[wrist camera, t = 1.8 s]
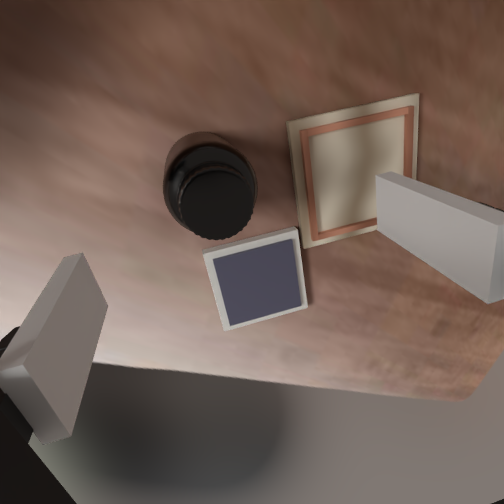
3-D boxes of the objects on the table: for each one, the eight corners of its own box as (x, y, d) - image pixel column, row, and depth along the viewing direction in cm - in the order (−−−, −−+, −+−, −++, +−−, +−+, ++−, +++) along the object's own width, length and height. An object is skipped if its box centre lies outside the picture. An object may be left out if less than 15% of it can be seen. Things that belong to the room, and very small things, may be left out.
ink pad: (222, 326, 40) (224, 333, 39) (201, 249, 36) (203, 255, 34) (304, 303, 41) (309, 309, 40) (294, 226, 37) (299, 231, 36)
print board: (301, 246, 38) (306, 251, 37) (285, 121, 32) (290, 122, 31) (410, 217, 39) (418, 221, 38) (413, 93, 34) (423, 93, 32)
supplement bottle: (251, 153, 33) (291, 183, 22) (217, 215, 34) (239, 271, 24) (184, 114, 30) (192, 128, 19) (151, 184, 32) (143, 231, 21)
